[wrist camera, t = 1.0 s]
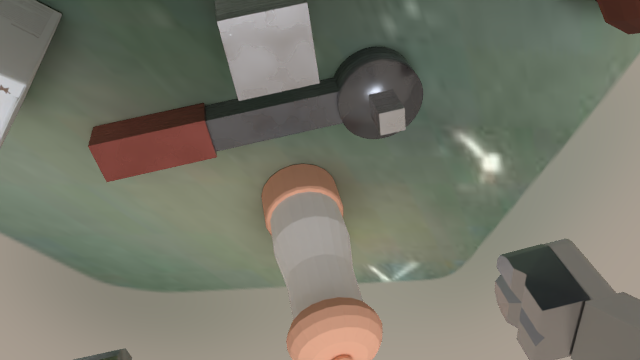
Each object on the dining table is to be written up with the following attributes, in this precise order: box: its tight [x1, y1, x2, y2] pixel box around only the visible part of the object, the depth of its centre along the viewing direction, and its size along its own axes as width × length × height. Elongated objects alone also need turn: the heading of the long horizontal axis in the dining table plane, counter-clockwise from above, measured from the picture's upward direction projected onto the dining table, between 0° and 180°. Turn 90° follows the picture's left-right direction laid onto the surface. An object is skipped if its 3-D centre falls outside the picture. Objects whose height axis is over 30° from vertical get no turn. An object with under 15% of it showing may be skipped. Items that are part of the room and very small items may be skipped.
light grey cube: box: [215, 0, 320, 101], centre depth 36 cm, size 6×6×7 cm
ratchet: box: [88, 47, 423, 182], centre depth 41 cm, size 7×26×6 cm, turn 98°
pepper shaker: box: [262, 164, 382, 360], centre depth 43 cm, size 7×7×19 cm
